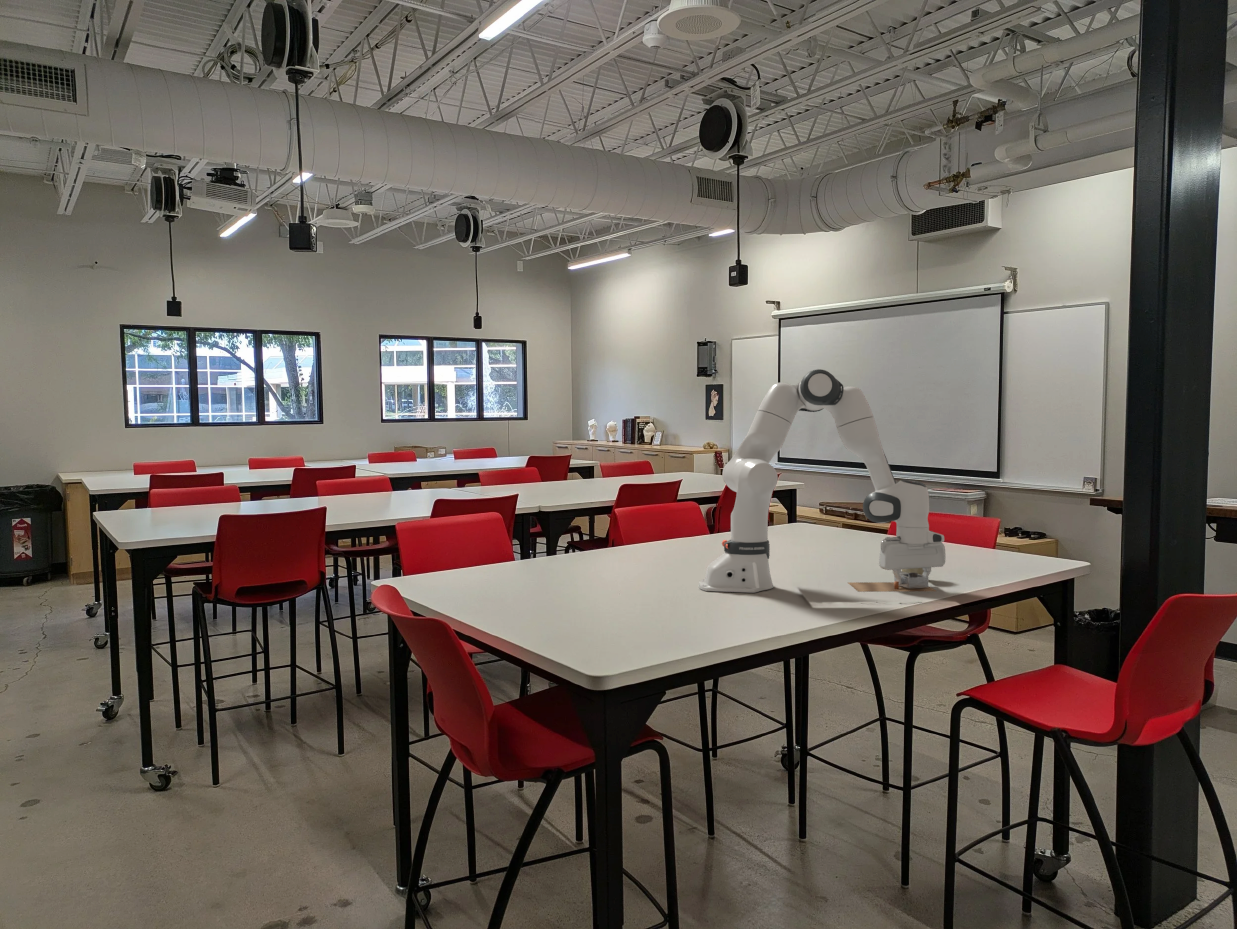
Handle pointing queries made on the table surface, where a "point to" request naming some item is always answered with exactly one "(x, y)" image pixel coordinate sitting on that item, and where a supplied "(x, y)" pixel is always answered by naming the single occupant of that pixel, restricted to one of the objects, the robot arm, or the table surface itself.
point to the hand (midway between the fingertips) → (911, 583)
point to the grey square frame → (913, 581)
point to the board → (886, 586)
